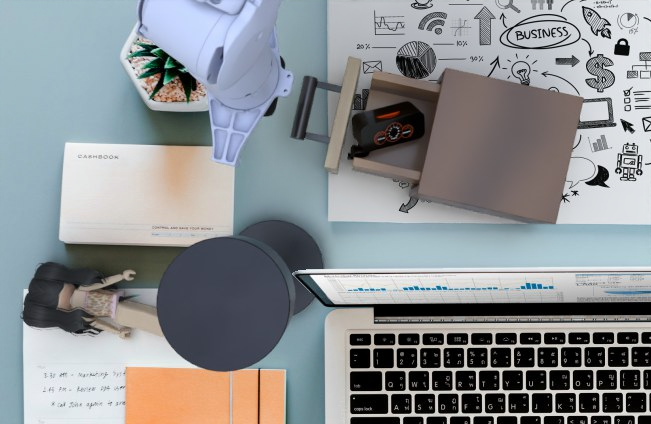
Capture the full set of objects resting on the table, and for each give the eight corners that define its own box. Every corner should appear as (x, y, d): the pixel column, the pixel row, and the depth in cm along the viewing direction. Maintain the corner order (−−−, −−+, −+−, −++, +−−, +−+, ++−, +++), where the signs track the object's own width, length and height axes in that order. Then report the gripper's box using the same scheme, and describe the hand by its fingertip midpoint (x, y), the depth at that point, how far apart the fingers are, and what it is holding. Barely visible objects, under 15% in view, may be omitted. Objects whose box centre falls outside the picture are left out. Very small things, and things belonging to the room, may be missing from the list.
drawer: (288, 163, 65) (282, 157, 59) (311, 63, 65) (307, 46, 59) (437, 196, 65) (447, 194, 58) (460, 95, 65) (472, 82, 58)
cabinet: (408, 196, 66) (417, 193, 58) (433, 86, 66) (445, 67, 58) (530, 224, 65) (556, 224, 57) (555, 112, 65) (584, 97, 57)
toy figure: (184, 271, 67) (40, 255, 66) (170, 285, 60) (10, 267, 60) (179, 338, 67) (36, 322, 67) (164, 358, 61) (6, 341, 61)
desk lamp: (238, 210, 66) (159, 203, 38) (333, 231, 66) (323, 240, 38) (217, 305, 66) (122, 367, 38) (311, 327, 66) (286, 406, 38)
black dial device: (340, 115, 61) (352, 129, 58) (410, 97, 62) (424, 110, 60) (345, 157, 64) (356, 172, 61) (412, 139, 65) (425, 154, 62)
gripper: (264, 169, 46) (283, 181, 60) (309, -27, 46) (317, 29, 60) (170, 148, 47) (209, 164, 60) (214, -47, 47) (244, 13, 60)
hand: (258, 96), depth 60 cm, fingers closed
